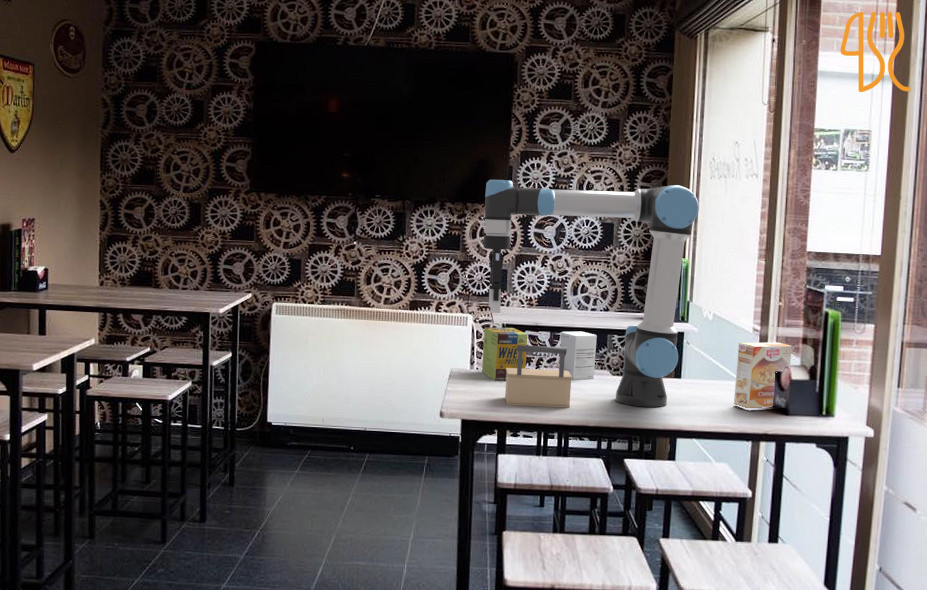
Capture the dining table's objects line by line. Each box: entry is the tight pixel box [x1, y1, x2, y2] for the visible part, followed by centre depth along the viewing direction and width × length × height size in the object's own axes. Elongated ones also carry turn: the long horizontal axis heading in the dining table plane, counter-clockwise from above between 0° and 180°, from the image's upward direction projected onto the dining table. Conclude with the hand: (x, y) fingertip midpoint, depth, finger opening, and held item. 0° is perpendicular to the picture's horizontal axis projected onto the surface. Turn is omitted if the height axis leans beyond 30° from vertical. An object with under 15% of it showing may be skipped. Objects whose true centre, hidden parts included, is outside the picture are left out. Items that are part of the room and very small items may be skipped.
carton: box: [504, 374, 572, 408], centre depth 286 cm, size 18×10×8 cm, turn 90°
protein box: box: [481, 326, 528, 382], centre depth 326 cm, size 10×15×16 cm
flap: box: [506, 345, 573, 381], centre depth 285 cm, size 18×12×9 cm, turn 90°
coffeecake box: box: [733, 341, 793, 408], centre depth 294 cm, size 15×7×20 cm, turn 115°
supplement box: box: [558, 331, 598, 381], centre depth 332 cm, size 9×9×15 cm
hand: (494, 309), depth 278 cm, fingers open, 13 cm apart
